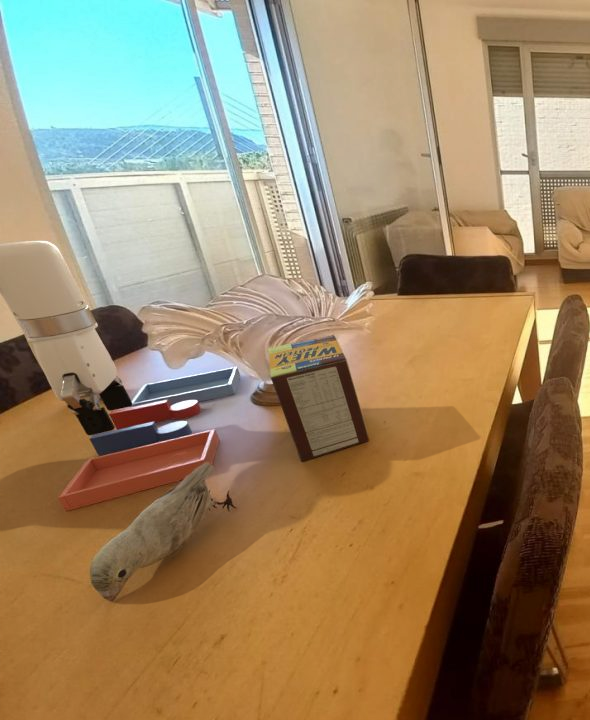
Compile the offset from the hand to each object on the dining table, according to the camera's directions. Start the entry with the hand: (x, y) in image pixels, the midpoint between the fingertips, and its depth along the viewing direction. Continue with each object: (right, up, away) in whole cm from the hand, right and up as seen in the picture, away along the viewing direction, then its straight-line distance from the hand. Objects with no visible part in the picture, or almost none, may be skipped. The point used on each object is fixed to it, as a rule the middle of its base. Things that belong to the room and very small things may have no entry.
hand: (111, 419), depth 80 cm
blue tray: (-6, +3, +22) cm, 23 cm away
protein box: (+34, -3, +5) cm, 35 cm away
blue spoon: (+2, -5, +4) cm, 6 cm away
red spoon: (-3, -2, +11) cm, 12 cm away
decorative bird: (+30, -14, -20) cm, 39 cm away
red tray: (+11, -8, -5) cm, 14 cm away
